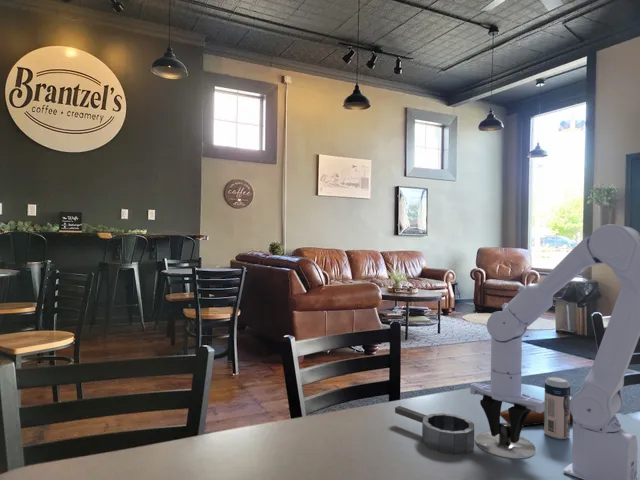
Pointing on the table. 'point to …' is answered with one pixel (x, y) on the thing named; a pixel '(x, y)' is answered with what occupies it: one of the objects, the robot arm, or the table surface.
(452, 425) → the saucepan
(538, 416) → the sunglasses case
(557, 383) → the white labeled canister
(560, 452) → the table surface
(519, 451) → the lid
